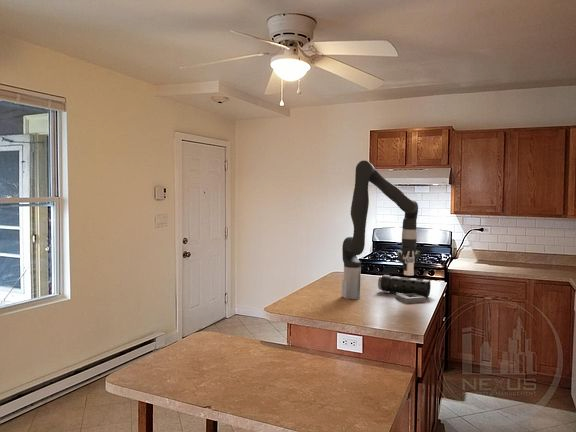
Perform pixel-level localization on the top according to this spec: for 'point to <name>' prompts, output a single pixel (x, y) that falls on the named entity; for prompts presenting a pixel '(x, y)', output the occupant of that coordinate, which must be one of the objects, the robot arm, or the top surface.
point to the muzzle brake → (404, 285)
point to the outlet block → (410, 298)
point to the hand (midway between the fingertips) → (408, 270)
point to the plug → (409, 268)
